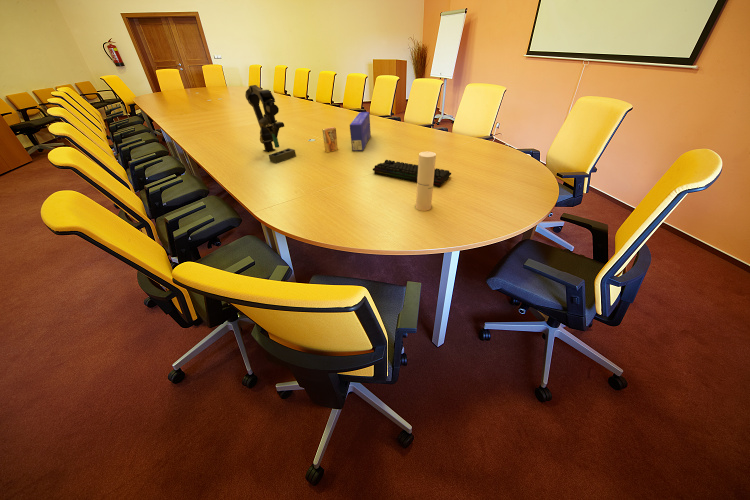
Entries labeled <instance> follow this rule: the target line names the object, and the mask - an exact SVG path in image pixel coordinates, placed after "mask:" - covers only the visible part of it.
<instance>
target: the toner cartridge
mask: <svg viewBox="0 0 750 500" xmlns="http://www.w3.org/2000/svg"><path fill="white" fill-rule="evenodd" d="M370 116H371V115H370V111H360V112H358V113H357V115H356V116H355V117H354V118H353V120H352V121H351V122H350V124H349V132H350V134H349V135H350V143H351V151H352V152H363V151H364V150H365V148H366V146H367V144H368V142H369V140H370V138H371V136H372V133H371V131H372V130H371V117H370Z"/></svg>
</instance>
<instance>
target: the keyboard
mask: <svg viewBox="0 0 750 500" xmlns="http://www.w3.org/2000/svg"><path fill="white" fill-rule="evenodd" d="M372 171H373V173H374V175H376V176H377V175H378V176H381V177H387V178H391V179H397V180H400V181H407V182H411V183H415V184H417V178H418V164H413V163H407V162H403V161H395V160H391V159H384V162H380V163H377V164H375V165H374V167H373V168H372ZM451 175H452V172H450V170H448V169H442V168H436V167H435V171H434V182H433V187H436V188H440V187H442V186H443V185H444V184H445V183H446V182H447V181H448V180H449V179H450V177H451Z"/></svg>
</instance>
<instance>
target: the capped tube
mask: <svg viewBox="0 0 750 500" xmlns="http://www.w3.org/2000/svg"><path fill="white" fill-rule="evenodd" d="M271 133H272V137H273V141H274V142H273V146H274V149H275V148H276V149H278V148H280V142H279V138H278V137H277V138H276V137H275V135H274V131H271Z"/></svg>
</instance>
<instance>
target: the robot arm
mask: <svg viewBox="0 0 750 500" xmlns="http://www.w3.org/2000/svg"><path fill="white" fill-rule="evenodd" d="M244 95H245V99H246V101H247V102H248V104H249V105H250V107H252V109H253V112H254V114H255V118H256V121H257V123H258V125H259V142H260V143H261V144H262V145H263V147H264V149H262V151H263V152H266V153H272V152H274V151H276V149H275V148H274V144H273V143H274V141H273V137H272V133H271V131H274V135H275V137H276V138H278V137H279V131H280V129H281V128H284V127H285V123H284V122H283V121H278V120H277V119H276V115H277V114H279V111H280V110H279V109H280V108H279V107H278V105H277V104H275V103H276V100H275V99H276V98H275V97H274V94H273V92H272V91H271V90H269V89H263V88H261V87H259V85H257V84H252V85H249V86H248V88H247V90H246V91H245V94H244ZM260 102H261V104H262V108H263V111H262V109H261V106H260ZM263 112H264V114H263Z"/></svg>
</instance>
